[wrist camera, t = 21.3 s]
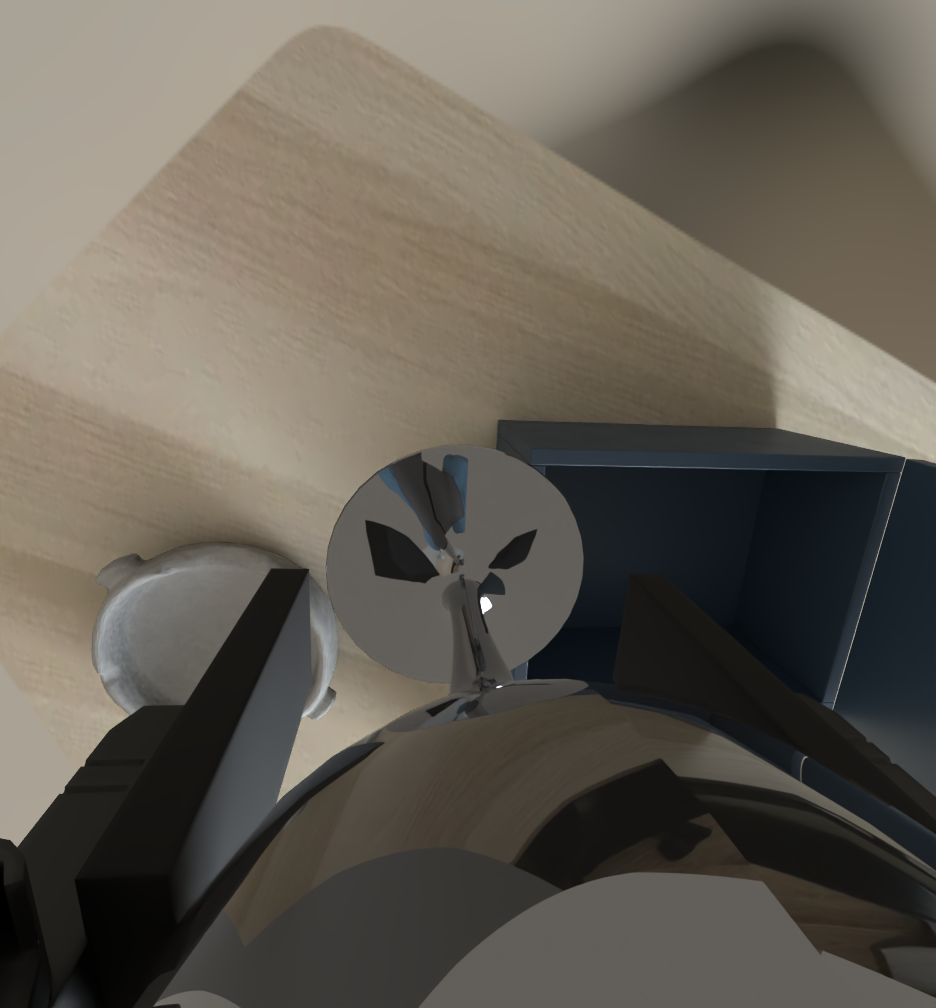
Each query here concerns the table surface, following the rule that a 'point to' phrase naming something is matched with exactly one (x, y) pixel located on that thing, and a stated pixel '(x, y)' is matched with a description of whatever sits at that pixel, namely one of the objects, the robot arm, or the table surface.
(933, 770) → the lid
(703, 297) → the table surface
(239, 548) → the dish
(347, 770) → the wine glass
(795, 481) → the chest
